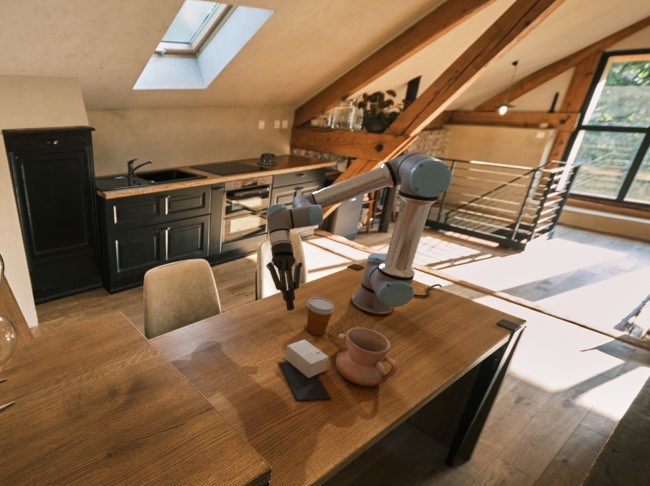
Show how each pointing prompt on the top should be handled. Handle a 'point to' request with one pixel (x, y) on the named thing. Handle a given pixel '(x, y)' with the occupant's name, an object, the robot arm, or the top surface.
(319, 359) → the small box
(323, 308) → the disposable coffee cup
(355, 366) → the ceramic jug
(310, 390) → the mat
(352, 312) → the top surface
